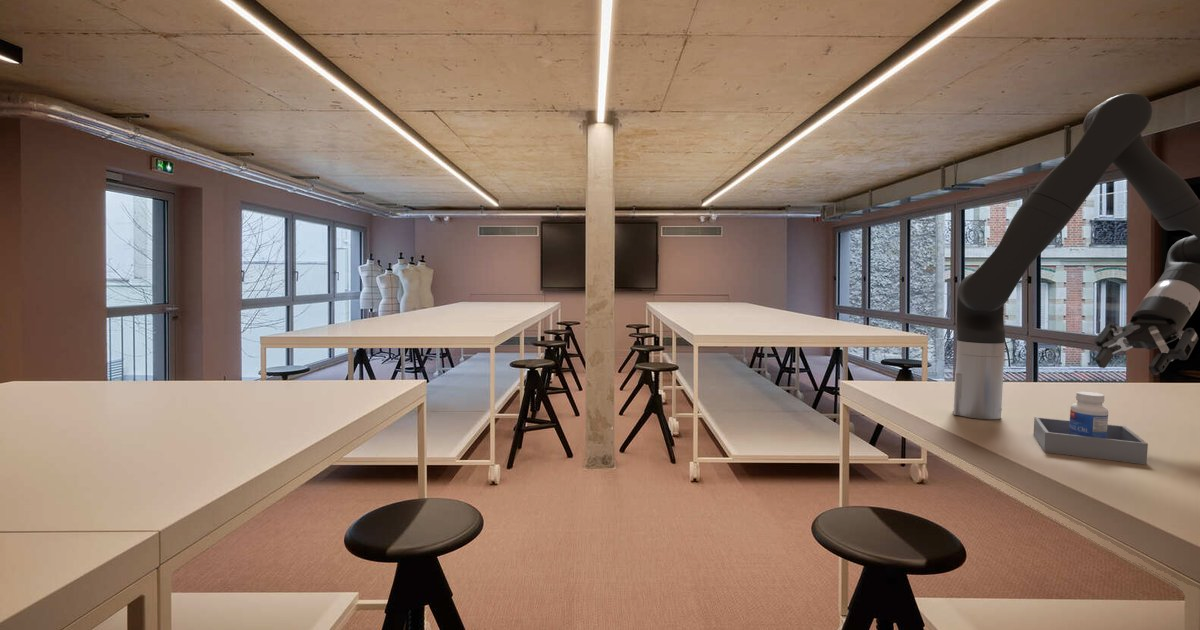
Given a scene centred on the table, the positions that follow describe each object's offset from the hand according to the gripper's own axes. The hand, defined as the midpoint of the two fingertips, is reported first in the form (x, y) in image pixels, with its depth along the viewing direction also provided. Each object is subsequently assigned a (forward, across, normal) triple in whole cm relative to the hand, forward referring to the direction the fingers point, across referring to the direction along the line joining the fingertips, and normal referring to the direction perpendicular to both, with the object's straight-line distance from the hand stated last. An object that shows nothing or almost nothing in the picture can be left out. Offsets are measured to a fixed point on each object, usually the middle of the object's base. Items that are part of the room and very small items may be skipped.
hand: (1125, 368), depth 112 cm
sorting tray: (+18, 0, +3) cm, 18 cm away
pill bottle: (+17, 0, +3) cm, 17 cm away
